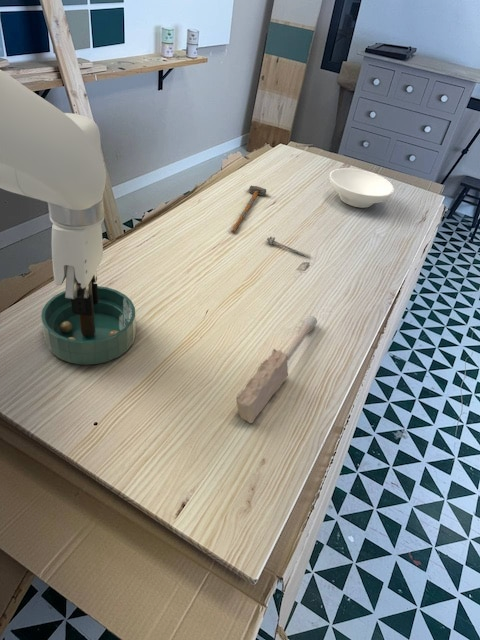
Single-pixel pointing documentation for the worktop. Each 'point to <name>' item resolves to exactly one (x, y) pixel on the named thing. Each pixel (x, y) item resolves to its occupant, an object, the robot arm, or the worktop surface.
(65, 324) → the bead
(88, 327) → the stick
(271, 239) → the screw
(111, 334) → the bead
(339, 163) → the worktop surface
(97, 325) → the mixing bowl
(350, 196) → the bowl
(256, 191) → the sledgehammer
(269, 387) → the tan handled block
